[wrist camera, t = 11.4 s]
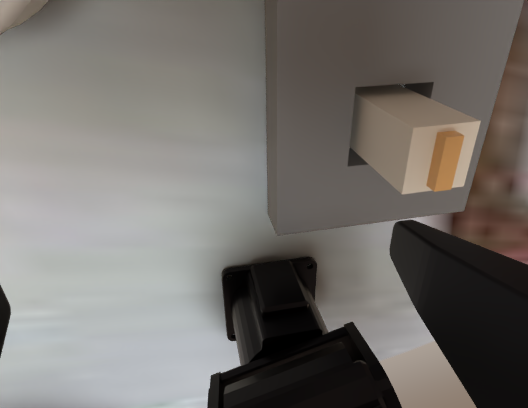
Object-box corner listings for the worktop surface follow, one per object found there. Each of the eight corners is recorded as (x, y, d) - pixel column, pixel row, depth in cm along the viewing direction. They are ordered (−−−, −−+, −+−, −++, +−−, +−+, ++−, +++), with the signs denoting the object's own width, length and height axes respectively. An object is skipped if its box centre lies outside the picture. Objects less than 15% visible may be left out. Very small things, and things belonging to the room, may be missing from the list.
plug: (388, 134, 23) (472, 192, 17) (341, 139, 23) (409, 201, 16) (395, 83, 22) (491, 125, 15) (345, 87, 21) (421, 132, 15)
